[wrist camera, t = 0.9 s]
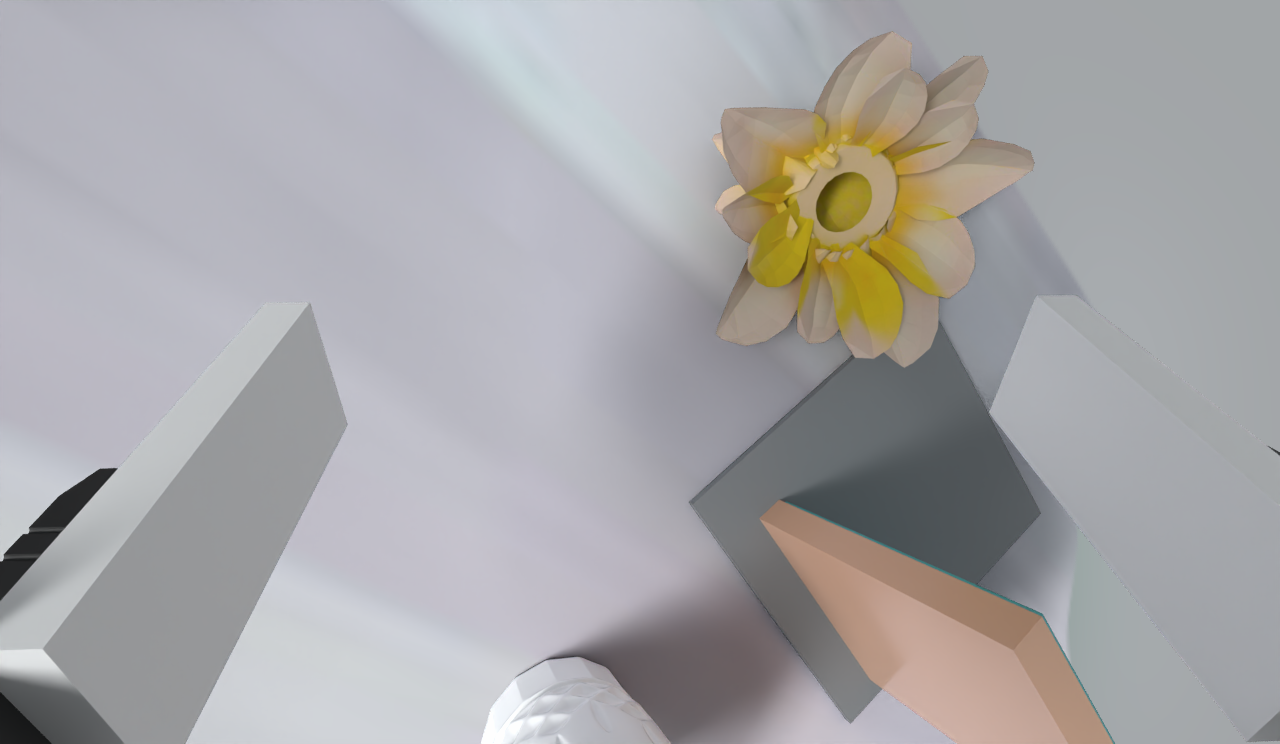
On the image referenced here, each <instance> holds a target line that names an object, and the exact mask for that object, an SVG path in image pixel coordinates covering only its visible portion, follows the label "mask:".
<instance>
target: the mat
mask: <svg viewBox="0 0 1280 744" xmlns="http://www.w3.org/2000/svg"><path fill="white" fill-rule="evenodd" d="M778 500H781V501H783V502H786V501H787V502H790V503H792V504H794V505H796V506H799V507H801V508H803V509H805V510H808V511H810V512H812V513H815V514H817V515H819V516H821V517H824V518H826V519H828V520H830V521H833V522H835V523H837V524H840V525H842V526H844V527H846V528H849V529H851V530H853V531H855V532H858V533H860V534H862V535H865V536H867V537H869V538H871V539H874V540H876V541H878V542H880V543H883V544H885V545H887V546H890V547H892V548H894V549H896V550H899V551H901V552H903V553H906V554H908V555H910V556H912V557H915V558H917V559H919V560H921V561H924V562H926V563H928V564H931V565H933V566H935V567H937V568H940V569H942V570H944V571H946V572H949V573H951V574H953V575H956V576H958V577H960V578H962V579H965V580H967V581H969V582H971V583H974V584H977V583H978V582H979V581H980V580H981V579H982V578H983V577H984V576H985V575H986V573H987V572H988V571H989V570H990V569H991V568H992V567H993V566H994V565H995V563H996V562H997V561H998V560H999V559H1000V558H1001V557H1002V556H1003V555H1004V554H1005V552H1006V551H1007V550H1008V549H1009V548H1010V547H1011V546H1012V545H1013V544H1014V542H1015V541H1016V540H1017V539H1018V538H1019V537H1020V536H1021V535H1022V534H1023V533H1024V531H1025V530H1026V529H1027V528H1028V527H1029V526H1030V525H1031V524H1032V523H1033V521H1034V520H1035V519H1036V518H1037V517H1038V516H1039V515H1040V514H1041V513H1040V511H1039V509H1038V507H1037V505H1036V503H1035V501H1034V499H1033V497H1032V496H1031V494H1030V492H1029V490H1028V488H1027V486H1026V484H1025V482H1024V480H1023V478H1022V477H1021V475H1020V473H1019V471H1018V469H1017V467H1016V465H1015V463H1014V461H1013V460H1012V458H1011V456H1010V454H1009V452H1008V450H1007V448H1006V446H1005V444H1004V443H1003V441H1002V439H1001V437H1000V435H999V433H998V431H997V429H996V427H995V425H994V424H993V422H992V420H991V418H990V416H989V414H988V412H987V410H986V408H985V407H984V405H983V403H982V401H981V399H980V397H979V395H978V393H977V391H976V390H975V388H974V386H973V384H972V382H971V380H970V378H969V376H968V374H967V373H966V371H965V369H964V367H963V365H962V363H961V361H960V359H959V357H958V355H957V354H956V352H955V350H954V348H953V346H952V344H951V342H950V340H949V338H948V337H947V335H946V333H945V331H944V329H943V327H942V325H941V323H940V321H939V320H938V329H937V332H936V335H935V337H934V340H933V342H932V345H931V348H930V349H929V350H927V351H926V352H925V353H924V354H923V355H922V356H921V357H919V358H918V359H917V360H916V361H915V362H914V363H912V364H910V365H908V366H906V367H905V368H904V367H902V366H901V365H899V364H898V363H896V362H895V361H894V360H892V359H891V358H890V357H889V356H888V355H886V354H885V353H884V352H883V353H882V354H880V355H879V356H877V357H876V358H874V359H871V358H855V357H854V355H852V356H851V357H850V358H849V359H848V360H847V361H846V362H845V363H843V364H842V365H841V366H840V367H839V368H838V369H837V370H836V371H835V372H833V373H832V374H831V375H830V376H829V377H828V378H827V379H826V380H825V381H823V382H822V383H821V384H820V385H819V386H818V387H817V388H816V389H815V390H813V391H812V392H811V393H810V394H809V395H808V396H807V397H806V398H804V399H803V400H802V401H801V402H800V403H799V404H798V405H797V406H796V407H794V408H793V409H792V410H791V411H790V412H789V413H788V414H787V415H786V416H784V417H783V418H782V419H781V420H780V421H779V422H778V423H777V424H776V425H774V426H773V427H772V428H771V429H770V430H769V431H768V432H767V433H766V434H764V435H763V436H762V437H761V438H760V439H759V440H758V441H757V442H756V443H754V444H753V445H752V446H751V447H750V448H749V449H748V450H747V451H746V452H744V453H743V454H742V455H741V456H740V457H739V458H738V459H737V460H736V461H734V462H733V463H732V464H731V465H730V466H729V467H728V468H727V469H726V470H724V471H723V472H722V473H721V474H720V475H719V476H718V477H717V478H716V479H714V480H713V481H712V482H711V483H710V484H709V485H708V486H707V487H706V488H704V489H703V490H702V491H701V492H700V493H699V494H698V495H697V496H695V497H694V498H693V499H692V500H691V501H690V502H689V503H690V505H691V506H692V507H693V509H694V510H695V511H696V513H697V514H698V516H699V517H700V518H701V520H702V521H703V523H704V524H705V525H706V527H707V528H708V529H709V531H710V532H711V534H712V535H713V536H714V538H715V539H716V541H717V542H718V543H719V545H720V546H721V547H722V549H723V550H724V552H725V553H726V554H727V556H728V557H729V559H730V560H731V561H732V563H733V564H734V565H735V567H736V568H737V570H738V571H739V572H740V574H741V575H742V577H743V578H744V579H745V581H746V582H747V583H748V585H749V586H750V588H751V589H752V590H753V592H754V593H755V595H756V596H757V597H758V599H759V600H760V601H761V603H762V604H763V606H764V607H765V608H766V610H767V611H768V613H769V614H770V615H771V617H772V618H773V619H774V621H775V622H776V624H777V625H778V626H779V628H780V629H781V631H782V632H783V633H784V635H785V636H786V637H787V639H788V640H789V642H790V643H791V644H792V646H793V647H794V648H795V650H796V651H797V653H798V654H799V655H800V657H801V658H802V660H803V661H804V662H805V664H806V665H807V666H808V668H809V669H810V671H811V672H812V673H813V675H814V676H815V678H816V679H817V680H818V682H819V683H820V684H821V686H822V687H823V689H824V690H825V691H826V693H827V694H828V696H829V697H830V698H831V700H832V701H833V702H834V704H835V705H836V707H837V708H838V709H839V711H840V712H841V714H842V715H843V716H844V718H845V719H846V720H847V721H848V722H849V723H850V724H851V723H852V722H853V721H854V719H855V718H856V717H857V716H858V715H859V714H860V713H861V712H862V711H863V709H864V708H865V707H866V706H867V705H868V704H869V703H870V702H871V701H872V700H873V698H874V697H875V696H876V695H877V694H878V693H879V692H880V691H881V690H882V688H881V687H879V686H878V685H877V684H875V683H874V682H873V681H871V680H870V678H869V677H868V676H867V674H866V673H865V671H864V670H863V668H862V667H861V665H860V664H859V663H858V661H857V660H856V658H855V657H854V655H853V654H852V652H851V651H850V649H849V648H848V647H847V645H846V644H845V642H844V641H843V639H842V638H841V636H840V635H839V633H838V632H837V631H836V629H835V628H834V626H833V625H832V623H831V622H830V620H829V619H828V618H827V616H826V615H825V613H824V612H823V610H822V609H821V607H820V606H819V604H818V603H817V602H816V600H815V599H814V597H813V596H812V594H811V593H810V591H809V590H808V589H807V587H806V586H805V584H804V583H803V581H802V580H801V578H800V577H799V575H798V574H797V573H796V571H795V570H794V568H793V567H792V565H791V564H790V562H789V561H788V560H787V558H786V557H785V555H784V554H783V552H782V551H781V549H780V548H779V546H778V545H777V544H776V542H775V541H774V539H773V538H772V536H771V535H770V533H769V532H768V531H767V529H766V528H765V526H764V525H763V523H762V522H761V520H760V519H759V518H760V517H761V516H762V515H763V514H764V513H766V512H767V511H768V510H769V509H770V508H771V507H772V506H773V505H774V504H775V503H776V502H777V501H778Z"/></svg>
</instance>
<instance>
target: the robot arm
mask: <svg viewBox="0 0 1280 744" xmlns="http://www.w3.org/2000/svg"><path fill="white" fill-rule="evenodd" d="M989 414H990V415H991V416H992V418H993V419H994V420H995V421H996V423H997V424H998V425H999V427H1000V428H1001V429H1002V430H1003V432H1004V433H1005V434H1006V436H1007V437H1008V438H1009V439H1010V441H1011V442H1012V443H1013V444H1014V446H1015V447H1016V448H1017V450H1018V451H1019V452H1020V453H1021V455H1022V456H1023V457H1024V459H1025V460H1026V461H1027V462H1028V464H1029V465H1030V466H1031V467H1032V469H1033V470H1034V471H1035V473H1036V474H1037V475H1038V476H1039V478H1040V479H1041V480H1042V482H1043V483H1044V484H1045V485H1046V487H1047V488H1048V489H1049V490H1050V492H1051V493H1052V494H1053V496H1054V497H1055V498H1056V499H1057V501H1058V502H1059V503H1060V505H1061V506H1062V507H1063V508H1064V510H1065V511H1066V512H1067V513H1068V515H1069V516H1070V517H1071V519H1072V520H1073V521H1074V522H1075V524H1076V525H1077V526H1078V528H1079V529H1080V530H1081V531H1082V533H1083V534H1084V535H1085V536H1086V538H1087V539H1088V540H1089V542H1090V543H1091V544H1092V545H1093V547H1094V548H1095V549H1096V550H1097V552H1098V553H1099V554H1100V556H1101V557H1102V558H1103V559H1104V561H1105V562H1106V563H1107V564H1108V566H1109V567H1110V568H1111V570H1112V571H1113V572H1114V573H1115V575H1116V576H1117V577H1118V578H1119V580H1120V581H1121V582H1122V584H1123V585H1124V586H1125V588H1126V589H1127V590H1128V591H1129V593H1130V594H1131V595H1132V596H1133V598H1134V599H1135V600H1136V602H1137V603H1138V604H1139V605H1140V607H1141V608H1142V609H1143V610H1144V612H1145V613H1146V614H1147V615H1148V617H1149V618H1150V619H1151V621H1152V622H1153V623H1154V625H1155V626H1156V627H1157V628H1158V630H1159V631H1160V632H1161V634H1162V635H1163V636H1164V637H1165V639H1166V640H1167V641H1168V642H1169V644H1170V645H1171V646H1172V648H1173V649H1174V650H1175V651H1176V653H1177V654H1178V655H1179V657H1180V658H1181V659H1182V660H1183V662H1184V663H1185V664H1186V665H1187V667H1188V668H1189V669H1190V671H1191V672H1192V673H1193V674H1194V676H1195V677H1196V678H1197V679H1198V681H1199V682H1200V683H1201V685H1202V686H1203V687H1204V688H1205V690H1206V691H1207V692H1208V693H1209V695H1210V696H1211V697H1212V699H1213V700H1214V701H1215V702H1216V704H1217V705H1218V706H1219V708H1220V709H1221V710H1222V711H1223V713H1224V714H1225V715H1226V717H1227V718H1228V719H1229V720H1230V721H1231V723H1232V724H1233V725H1234V727H1235V728H1236V729H1237V731H1238V732H1239V733H1240V734H1241V736H1242V737H1243V738H1244V739H1245V741H1246V742H1257V741H1280V452H1278V451H1276V450H1274V449H1273V448H1271V447H1269V446H1267V445H1265V444H1264V443H1263V442H1262V441H1260V440H1259V439H1258V438H1257V437H1255V436H1254V435H1253V434H1251V433H1250V432H1249V431H1248V430H1246V429H1245V428H1244V427H1243V426H1241V425H1240V424H1239V423H1238V422H1236V421H1235V420H1234V419H1232V418H1231V417H1230V416H1229V415H1227V414H1226V413H1225V412H1224V411H1222V410H1221V409H1220V408H1219V407H1217V406H1216V405H1215V404H1213V403H1212V402H1211V401H1209V400H1208V399H1207V398H1206V397H1205V396H1203V395H1202V394H1200V392H1198V391H1197V390H1196V389H1195V388H1193V387H1192V386H1191V385H1190V384H1188V383H1187V382H1186V381H1184V380H1183V379H1182V378H1181V377H1179V376H1178V375H1177V374H1176V373H1174V372H1173V371H1172V370H1171V369H1169V368H1168V367H1167V366H1165V365H1164V364H1163V363H1162V362H1160V361H1159V360H1158V359H1157V358H1155V357H1154V356H1153V355H1151V354H1150V353H1149V352H1148V351H1147V350H1145V349H1144V348H1143V347H1141V346H1140V345H1139V344H1138V343H1136V342H1135V341H1134V340H1133V339H1131V338H1130V337H1129V336H1128V335H1126V334H1125V333H1124V332H1123V331H1121V330H1120V329H1119V328H1117V327H1116V326H1115V325H1114V324H1112V323H1111V322H1110V321H1109V320H1107V319H1106V318H1105V317H1103V316H1102V315H1101V314H1100V313H1098V312H1097V311H1096V310H1095V309H1093V308H1092V307H1091V306H1090V305H1088V304H1087V303H1086V302H1085V301H1083V300H1082V299H1081V298H1080V297H1078V296H1077V295H1036V297H1035V300H1034V302H1033V305H1032V307H1031V310H1030V312H1029V315H1028V317H1027V320H1026V322H1025V325H1024V327H1023V329H1022V332H1021V334H1020V337H1019V339H1018V342H1017V344H1016V347H1015V349H1014V352H1013V354H1012V357H1011V359H1010V362H1009V364H1008V367H1007V369H1006V372H1005V374H1004V377H1003V379H1002V382H1001V384H1000V387H999V389H998V392H997V394H996V397H995V399H994V402H993V404H992V406H991V409H990V411H989ZM347 425H348V424H347V421H346V417H345V414H344V411H343V408H342V404H341V401H340V398H339V395H338V392H337V388H336V385H335V382H334V379H333V375H332V372H331V369H330V366H329V363H328V359H327V356H326V353H325V350H324V346H323V343H322V340H321V337H320V333H319V330H318V327H317V324H316V321H315V317H314V314H313V311H312V308H311V304H310V302H303V303H265V304H264V305H263V306H262V307H261V308H260V309H259V310H258V312H257V313H256V314H255V315H254V316H253V317H252V318H251V319H250V321H249V322H248V323H247V324H246V325H245V326H244V327H243V328H242V330H241V331H240V332H239V333H238V334H237V335H236V336H235V337H234V339H233V340H232V341H231V342H230V343H229V344H228V345H227V346H226V348H225V349H224V350H223V351H222V352H221V353H220V354H219V355H218V357H217V358H216V359H215V360H214V361H213V362H212V363H211V364H210V366H209V367H208V368H207V369H206V370H205V371H204V372H203V373H202V375H201V376H200V377H199V378H198V379H197V380H196V381H195V382H194V384H193V385H192V386H191V387H190V388H189V389H188V390H187V391H186V393H185V394H184V395H183V396H182V397H181V398H180V399H179V400H178V402H177V403H176V404H175V405H174V406H173V407H172V408H171V409H170V411H169V412H168V413H167V414H166V415H165V416H164V417H163V418H162V420H161V421H160V422H159V423H158V424H157V425H156V426H155V427H154V429H153V430H152V431H151V432H150V433H149V434H148V435H147V436H146V438H145V439H144V440H143V441H142V442H141V443H140V444H139V445H138V447H137V448H136V449H135V450H134V451H133V452H132V453H131V454H130V456H129V457H128V458H127V459H126V460H125V461H124V462H123V464H122V465H121V466H120V467H119V468H108V469H99V470H97V471H96V472H94V473H93V474H91V475H90V476H88V477H87V478H85V479H84V480H82V481H81V482H79V483H78V484H76V485H75V486H73V487H72V488H70V489H69V490H67V491H66V492H64V493H63V494H61V495H60V496H59V497H58V498H57V499H56V500H55V501H54V502H53V503H52V504H51V505H50V506H49V507H48V508H47V509H46V510H45V511H44V512H43V514H42V515H41V516H40V517H39V518H38V519H37V520H36V521H35V522H34V523H33V524H32V525H31V526H30V527H29V529H30V530H29V533H28V534H23V535H22V536H21V537H20V538H19V539H18V540H17V541H16V542H15V543H14V544H13V545H12V546H11V547H10V548H9V549H8V550H7V552H6V553H5V554H4V560H3V561H2V562H0V744H185V743H186V741H187V739H188V737H189V735H190V733H191V731H192V729H193V727H194V725H195V723H196V721H197V719H198V717H199V715H200V714H201V712H202V710H203V708H204V706H205V704H206V702H207V700H208V698H209V696H210V694H211V692H212V690H213V688H214V686H215V684H216V682H217V680H218V678H219V676H220V674H221V672H222V670H223V668H224V666H225V664H226V662H227V661H228V659H229V657H230V655H231V653H232V651H233V649H234V647H235V645H236V643H237V641H238V639H239V637H240V635H241V633H242V631H243V629H244V627H245V625H246V623H247V621H248V619H249V617H250V615H251V613H252V611H253V609H254V608H255V606H256V604H257V602H258V600H259V598H260V596H261V594H262V592H263V590H264V588H265V586H266V584H267V582H268V580H269V578H270V576H271V574H272V572H273V570H274V568H275V566H276V564H277V562H278V560H279V558H280V556H281V554H282V553H283V551H284V549H285V547H286V545H287V543H288V541H289V539H290V537H291V535H292V533H293V531H294V529H295V527H296V525H297V523H298V521H299V519H300V517H301V515H302V513H303V511H304V509H305V507H306V505H307V503H308V501H309V500H310V498H311V496H312V494H313V492H314V490H315V488H316V486H317V484H318V482H319V480H320V478H321V476H322V474H323V472H324V470H325V468H326V466H327V464H328V462H329V460H330V458H331V456H332V454H333V452H334V450H335V448H336V447H337V445H338V443H339V441H340V439H341V437H342V435H343V433H344V431H345V429H346V427H347Z"/></svg>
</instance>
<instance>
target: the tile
mask: <svg viewBox="0 0 1280 744" xmlns="http://www.w3.org/2000/svg"><path fill="white" fill-rule="evenodd" d="M759 519H760V520H761V522H762V523H763V525H764V526H765V528H766V529H767V531H768V532H769V533H770V535H771V536H772V538H773V539H774V541H775V542H776V544H777V545H778V546H779V548H780V549H781V551H782V552H783V554H784V555H785V557H786V558H787V560H788V561H789V562H790V564H791V565H792V567H793V568H794V570H795V571H796V573H797V574H798V575H799V577H800V578H801V580H802V581H803V583H804V584H805V586H806V587H807V589H808V590H809V591H810V593H811V594H812V596H813V597H814V599H815V600H816V602H817V603H818V604H819V606H820V607H821V609H822V610H823V612H824V613H825V615H826V616H827V618H828V619H829V620H830V622H831V623H832V625H833V626H834V628H835V629H836V631H837V632H838V633H839V635H840V636H841V638H842V639H843V641H844V642H845V644H846V645H847V647H848V648H849V649H850V651H851V652H852V654H853V655H854V657H855V658H856V660H857V661H858V663H859V664H860V665H861V667H862V668H863V670H864V671H865V673H866V674H867V676H868V677H869V678H870V680H871V681H873V682H874V683H875V684H877V685H878V686H879V687H881V688H882V689H883V690H885V691H886V692H888V693H889V694H890V695H892V696H893V697H894V698H896V699H897V700H898V701H900V702H901V703H902V704H904V705H905V706H907V707H908V708H909V709H911V710H912V711H913V712H915V713H916V714H917V715H919V716H920V717H922V718H923V719H924V720H926V721H927V722H928V723H930V724H931V725H932V726H934V727H935V728H937V729H938V730H939V731H941V732H942V733H943V734H945V735H946V736H947V737H949V738H950V739H952V740H953V741H954V742H956V743H957V744H1115V743H1114V741H1113V739H1112V737H1111V736H1110V734H1109V732H1108V730H1107V728H1106V727H1105V725H1104V723H1103V721H1102V719H1101V718H1100V716H1099V714H1098V712H1097V710H1096V709H1095V707H1094V705H1093V703H1092V701H1091V700H1090V698H1089V696H1088V694H1087V693H1086V691H1085V689H1084V687H1083V685H1082V684H1081V682H1080V680H1079V678H1078V676H1077V675H1076V673H1075V671H1074V669H1073V668H1072V666H1071V664H1070V662H1069V660H1068V659H1067V657H1066V655H1065V653H1064V651H1063V650H1062V648H1061V646H1060V644H1059V642H1058V641H1057V639H1056V637H1055V635H1054V634H1053V632H1052V630H1051V628H1050V626H1049V625H1048V623H1047V621H1046V619H1045V617H1044V616H1043V614H1042V613H1040V612H1037V611H1035V610H1033V609H1031V608H1028V607H1026V606H1024V605H1021V604H1019V603H1017V602H1015V601H1012V600H1010V599H1008V598H1006V597H1003V596H1001V595H999V594H996V593H994V592H992V591H990V590H987V589H985V588H983V587H981V586H978V585H976V584H974V583H971V582H969V581H967V580H965V579H962V578H960V577H958V576H956V575H953V574H951V573H949V572H946V571H944V570H942V569H940V568H937V567H935V566H933V565H931V564H928V563H926V562H924V561H921V560H919V559H917V558H915V557H912V556H910V555H908V554H906V553H903V552H901V551H899V550H896V549H894V548H892V547H890V546H887V545H885V544H883V543H880V542H878V541H876V540H874V539H871V538H869V537H867V536H865V535H862V534H860V533H858V532H855V531H853V530H851V529H849V528H846V527H844V526H842V525H840V524H837V523H835V522H833V521H830V520H828V519H826V518H824V517H821V516H819V515H817V514H815V513H812V512H810V511H808V510H805V509H803V508H801V507H799V506H796V505H794V504H792V503H790V502H787V501H786V502H783V501H781V500H778V501H777V502H776V503H775V504H774V505H773V506H772V507H771V508H770V509H769V510H768V511H767V512H766V513H764V514H763V515H762V516H761V517H760V518H759Z"/></svg>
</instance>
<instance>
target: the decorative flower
mask: <svg viewBox="0 0 1280 744" xmlns="http://www.w3.org/2000/svg"><path fill="white" fill-rule="evenodd" d="M911 48H912V43H911V42H909V41H907V40H906V39H904V38H903V37H901V36H899V35H898V34H896V33H894V32H893V31H891V32H889V33H886V34H883V35H880V36H877V37H874V38H871V39H869V40H868V41H866V42H865V43H863V44H862V45H860V46H859V47H858V48H856V49H855V50H853V51H852V52H851V53H850V54H849V55H848V56H847V57H846V59H845V60H844V61H843V62H842V63H841V64H840V65H839V66H838V67H837V68H836V69H835V71H834V73H833V74H832V76H831V77H830V79H829V81H828V82H827V84H826V85H825V87H824V89H823V91H822V94H821V96H820V98H819V100H818V102H817V104H816V107H815V110H814V113H813V112H810V111H807V110H803V109H782V108H766V107H761V108H729V109H725V110H724V113H723V116H722V119H721V128H722V132H721V133H718V134H715V135H714V137H713V139H712V140H713V141H714V143H715V145H716V147H717V148H718V150H719V151H720V153H721V154H722V155H723V157H724V158H725V160H726V161H727V162H728V164H729V167H730V169H731V172H732V174H733V175H734V177H735V178H736V180H737V181H738V182H739V184H740V185H734V186H732V187H731V188H729V189H727V190H725V191H724V192H723V193H722V195H721V196H720V198H719V200H718V201H717V203H716V205H715V209H716V211H717V212H718V213H720V214H722V215H723V218H724V219H725V221H726V222H727V224H728V225H729V227H730V228H731V230H732V231H733V233H734V234H735V235H737V236H738V237H740V238H741V239H742V240H744V241H745V242H748V243H751V244H750V245H749V247H748V259H747V261H746V263H745V265H744V267H743V269H742V272H741V274H740V276H739V278H738V280H737V282H736V284H735V286H734V288H733V291H732V293H731V295H730V297H729V299H728V302H727V304H726V307H725V310H724V312H723V315H722V317H721V320H720V322H719V325H718V327H717V331H716V334H717V335H718V336H719V337H720V338H721V339H723V340H725V341H729V342H733V343H737V344H741V345H745V346H748V345H752V344H757V343H761V342H765V341H767V340H769V339H770V338H772V337H773V336H775V335H776V334H778V333H779V332H781V331H782V330H784V329H785V328H786V327H787V326H788V324H789V322H790V321H791V319H792V317H793V316H794V314H795V312H796V311H797V309H798V312H797V332H798V333H799V334H800V335H801V336H802V337H803V338H804V339H805V340H806V341H807V342H808V343H824V342H826V341H827V340H828V339H830V338H831V337H833V336H834V335H835V334H836V332H837V331H838V330H839V329H840V331H841V334H842V338H843V340H844V341H845V343H846V344H847V346H848V347H849V349H850V350H851V352H852V354H853V355H854V357H855V358H871V359H874V358H876V357H877V356H879V355H880V354H882V353H883V352H884V353H885V354H886V355H888V356H889V357H890V358H891V359H892V360H894V361H895V362H896V363H898V364H899V365H901V366H902V367H904V368H905V367H906V366H908V365H910V364H912V363H914V362H915V361H916V360H917V359H918V358H919V357H921V356H922V355H923V354H924V353H925V352H926V351H927V350H929V349H930V348H931V345H932V342H933V340H934V337H935V335H936V332H937V329H938V316H939V297H943V298H948V299H949V298H951V297H952V296H953V295H955V294H956V293H957V292H959V291H960V290H961V289H962V288H964V287H965V286H966V285H967V283H968V281H969V279H970V276H971V274H972V272H973V270H974V267H975V253H974V248H973V245H972V242H971V239H970V236H969V233H968V232H967V230H966V228H965V227H964V225H963V223H962V222H961V220H959V219H958V218H956V217H958V216H960V215H962V214H963V213H965V212H967V211H968V210H970V209H972V208H973V207H975V206H976V205H978V204H980V203H981V202H983V201H985V200H986V199H988V198H990V197H991V196H993V195H994V194H996V193H998V192H999V191H1001V190H1003V189H1005V188H1006V187H1008V186H1010V185H1011V184H1013V183H1015V182H1016V181H1018V180H1019V179H1020V178H1022V177H1023V176H1025V175H1026V174H1027V173H1029V172H1031V171H1032V170H1033V166H1034V160H1033V157H1032V155H1031V152H1030V151H1029V150H1026V149H1024V148H1021V147H1019V146H1017V145H1015V144H1010V143H1004V142H998V141H993V140H988V139H972V140H971V138H972V137H973V135H974V133H975V132H976V129H977V124H978V120H979V118H978V115H977V112H976V109H975V106H974V103H975V101H976V99H977V98H978V96H979V94H980V92H981V90H982V89H983V87H984V85H985V81H986V78H987V74H988V69H987V67H986V64H985V61H984V59H983V56H963V57H962V58H960V59H959V60H958V61H957V62H955V63H954V64H953V65H951V66H950V67H949V68H947V69H946V70H945V71H944V72H942V73H941V74H940V75H938V76H937V77H936V78H935V79H933V80H932V81H931V82H930V83H929V84H928V85H927V86H926V83H925V81H924V80H923V79H922V77H921V76H920V74H918V73H916V72H914V71H911V70H910V66H911ZM938 296H939V297H938Z"/></svg>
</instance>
